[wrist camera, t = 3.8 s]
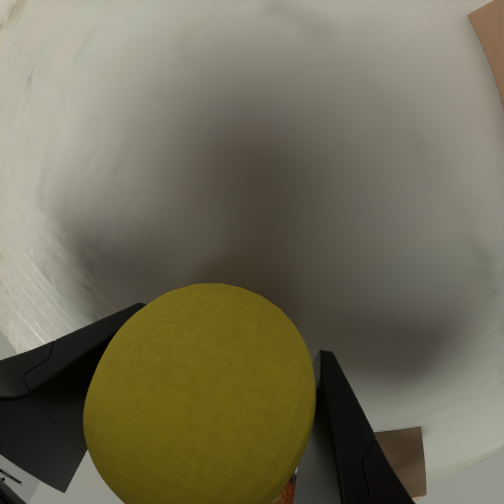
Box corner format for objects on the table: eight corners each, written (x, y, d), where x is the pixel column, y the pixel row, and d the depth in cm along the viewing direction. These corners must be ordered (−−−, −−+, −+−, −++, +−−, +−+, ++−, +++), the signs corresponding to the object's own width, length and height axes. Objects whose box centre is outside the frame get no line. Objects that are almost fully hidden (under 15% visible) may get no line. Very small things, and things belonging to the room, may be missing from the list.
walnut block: (420, 425, 11) (426, 494, 7) (398, 454, 14) (398, 510, 9) (343, 433, 13) (337, 506, 8) (334, 459, 15) (327, 516, 10)
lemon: (251, 375, 11) (195, 541, 4) (150, 298, 11) (31, 454, 4) (353, 313, 9) (350, 564, 2) (230, 200, 8) (5, 459, 1)
